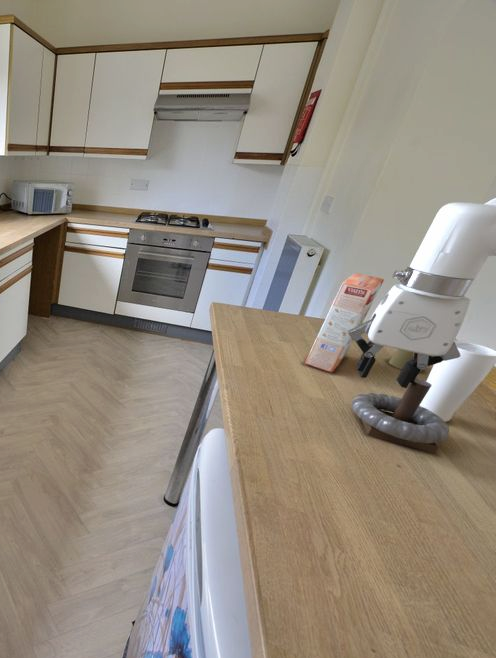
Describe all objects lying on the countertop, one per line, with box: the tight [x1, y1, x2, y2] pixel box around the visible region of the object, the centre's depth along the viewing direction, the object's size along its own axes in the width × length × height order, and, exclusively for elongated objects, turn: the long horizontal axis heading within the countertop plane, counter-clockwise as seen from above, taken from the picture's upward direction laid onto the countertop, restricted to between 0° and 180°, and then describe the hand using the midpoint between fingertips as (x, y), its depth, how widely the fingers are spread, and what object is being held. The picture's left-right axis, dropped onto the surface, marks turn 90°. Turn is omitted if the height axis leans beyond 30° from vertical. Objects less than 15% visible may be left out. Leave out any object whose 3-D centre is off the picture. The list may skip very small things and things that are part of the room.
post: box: [361, 378, 439, 454], centre depth 74 cm, size 9×9×10 cm
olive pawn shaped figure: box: [388, 349, 424, 373], centre depth 98 cm, size 6×6×11 cm
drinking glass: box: [420, 339, 496, 423], centre depth 78 cm, size 7×7×15 cm
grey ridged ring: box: [350, 392, 450, 444], centre depth 75 cm, size 13×13×3 cm
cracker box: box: [304, 272, 385, 374], centre depth 96 cm, size 14×6×21 cm, turn 131°
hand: (381, 378), depth 74 cm, fingers open, 4 cm apart
